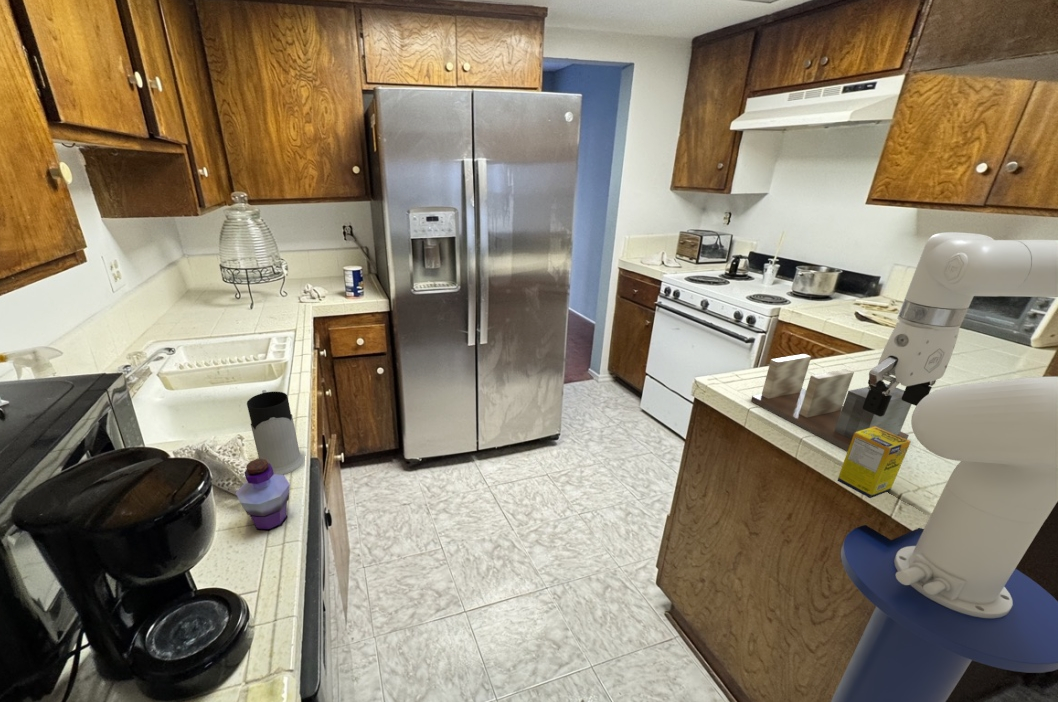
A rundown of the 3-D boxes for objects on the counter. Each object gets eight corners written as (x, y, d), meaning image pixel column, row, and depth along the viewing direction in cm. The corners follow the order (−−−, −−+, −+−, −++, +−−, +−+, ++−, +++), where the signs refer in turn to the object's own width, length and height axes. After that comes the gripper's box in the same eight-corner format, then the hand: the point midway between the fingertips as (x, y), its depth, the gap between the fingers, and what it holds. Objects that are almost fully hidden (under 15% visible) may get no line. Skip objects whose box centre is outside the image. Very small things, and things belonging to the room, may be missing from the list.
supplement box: (890, 491, 86) (912, 440, 82) (869, 499, 84) (891, 448, 80) (856, 473, 92) (875, 425, 87) (836, 480, 90) (854, 431, 85)
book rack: (853, 454, 97) (872, 406, 93) (750, 401, 120) (761, 359, 115) (906, 440, 102) (926, 393, 97) (797, 391, 125) (809, 351, 120)
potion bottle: (298, 500, 87) (286, 445, 82) (294, 532, 79) (281, 473, 74) (248, 508, 85) (233, 453, 80) (239, 542, 77) (222, 483, 72)
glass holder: (261, 480, 93) (245, 414, 86) (254, 446, 104) (239, 386, 98) (306, 467, 96) (294, 403, 90) (295, 436, 108) (283, 377, 102)
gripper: (921, 327, 69) (880, 427, 76) (995, 314, 74) (950, 409, 81) (867, 313, 75) (835, 406, 82) (939, 302, 80) (902, 391, 87)
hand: (892, 408), depth 82 cm, fingers open, 9 cm apart
